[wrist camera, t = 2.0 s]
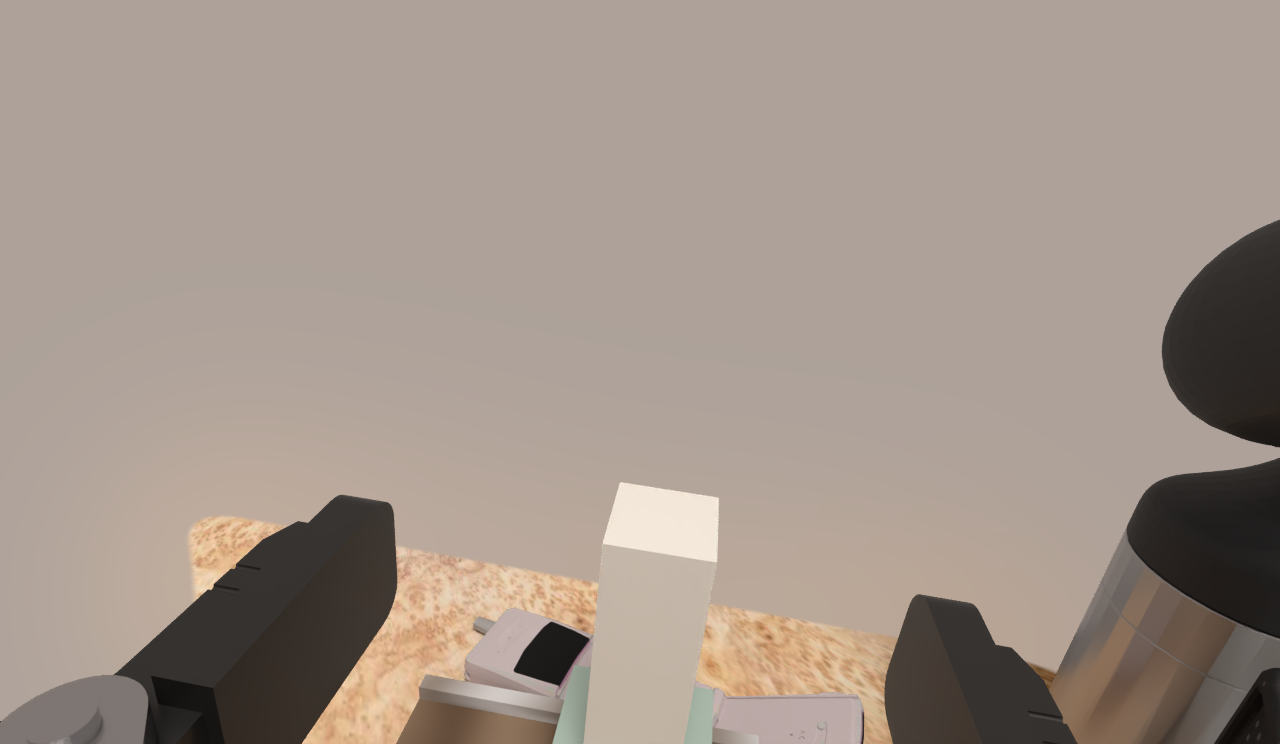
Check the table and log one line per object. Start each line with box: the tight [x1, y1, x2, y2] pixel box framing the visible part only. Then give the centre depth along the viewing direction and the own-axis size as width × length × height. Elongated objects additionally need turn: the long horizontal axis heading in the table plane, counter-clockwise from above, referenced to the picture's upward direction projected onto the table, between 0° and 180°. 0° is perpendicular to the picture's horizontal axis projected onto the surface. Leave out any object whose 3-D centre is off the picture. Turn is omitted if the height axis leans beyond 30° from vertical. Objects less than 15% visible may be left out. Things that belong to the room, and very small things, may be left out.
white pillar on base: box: [552, 482, 719, 744], centre depth 27 cm, size 7×7×14 cm
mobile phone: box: [465, 608, 864, 744], centre depth 38 cm, size 6×6×25 cm
